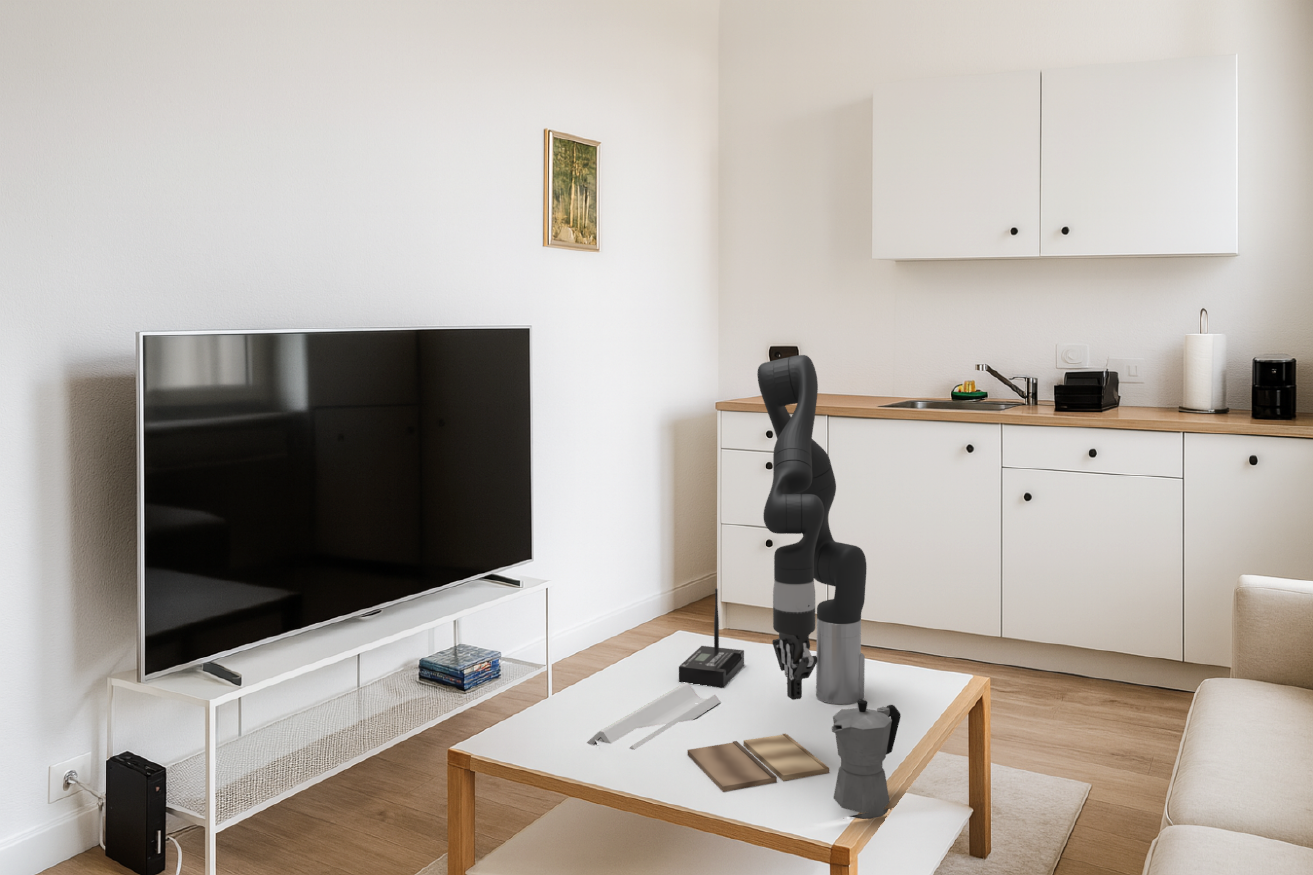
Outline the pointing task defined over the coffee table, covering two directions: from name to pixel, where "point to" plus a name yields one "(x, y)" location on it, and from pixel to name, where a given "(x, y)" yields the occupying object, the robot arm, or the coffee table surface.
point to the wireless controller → (712, 661)
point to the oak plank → (785, 757)
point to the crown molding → (659, 715)
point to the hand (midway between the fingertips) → (794, 697)
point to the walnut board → (731, 766)
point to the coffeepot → (864, 757)
